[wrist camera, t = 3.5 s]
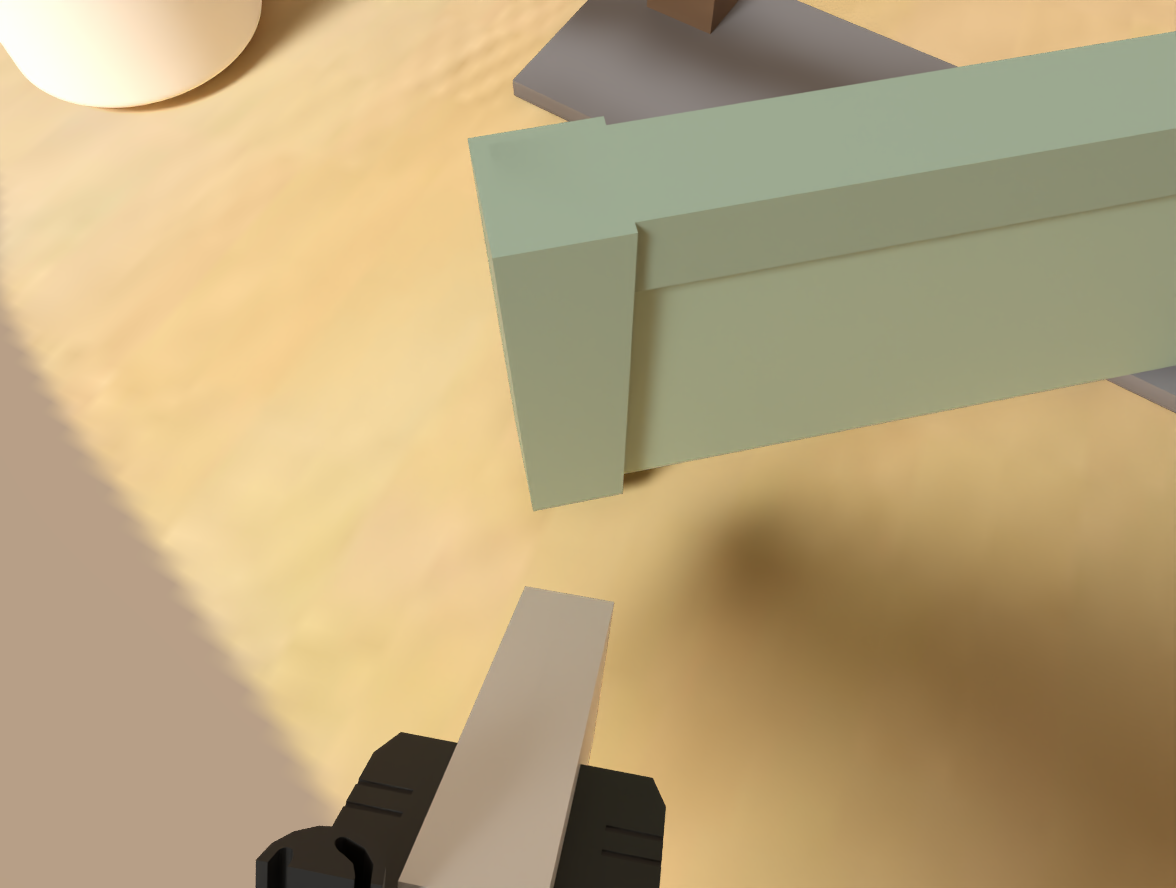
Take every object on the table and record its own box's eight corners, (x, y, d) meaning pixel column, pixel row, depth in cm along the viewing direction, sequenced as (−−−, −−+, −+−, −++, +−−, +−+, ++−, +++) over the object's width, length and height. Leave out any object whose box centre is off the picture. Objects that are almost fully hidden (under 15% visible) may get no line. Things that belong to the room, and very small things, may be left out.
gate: (1348, 349, 24) (1770, 34, 16) (533, 511, 23) (492, 258, 14) (1299, 275, 25) (1668, -59, 17) (516, 424, 24) (467, 138, 15)
